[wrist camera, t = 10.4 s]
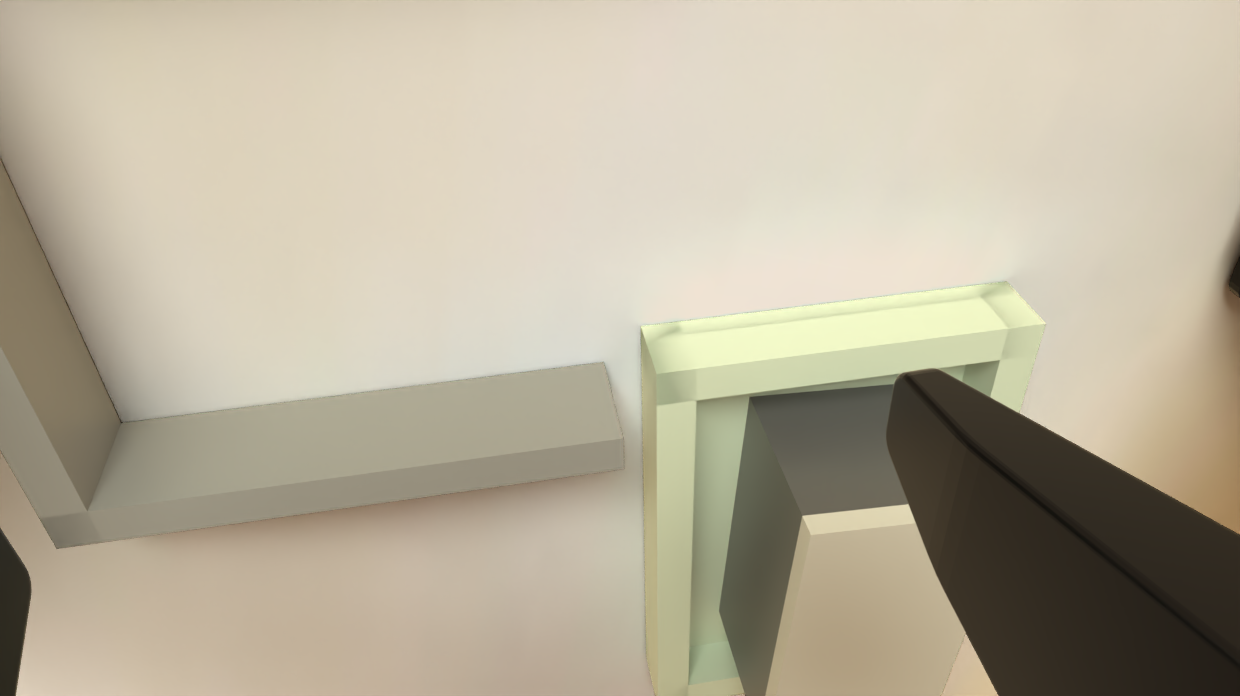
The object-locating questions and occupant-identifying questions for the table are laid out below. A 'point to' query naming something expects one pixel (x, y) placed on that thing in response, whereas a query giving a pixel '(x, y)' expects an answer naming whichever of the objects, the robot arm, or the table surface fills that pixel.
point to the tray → (716, 417)
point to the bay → (261, 431)
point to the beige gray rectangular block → (830, 557)
